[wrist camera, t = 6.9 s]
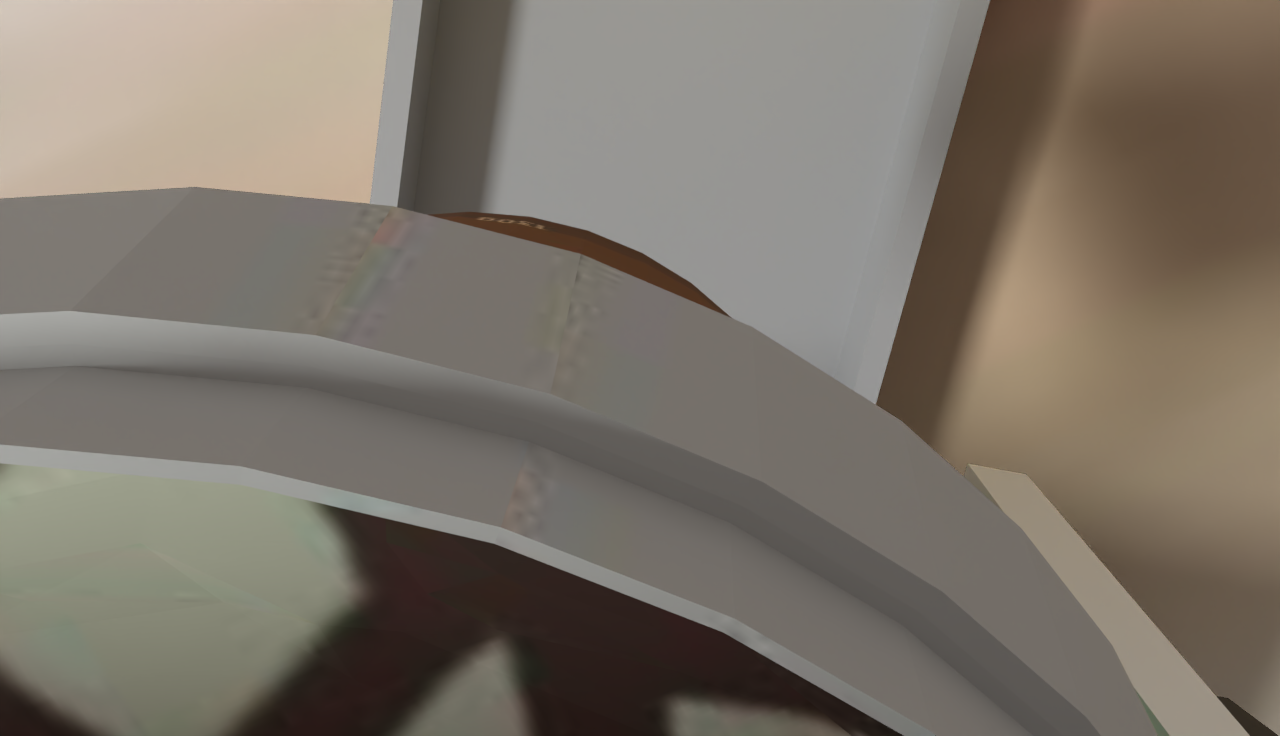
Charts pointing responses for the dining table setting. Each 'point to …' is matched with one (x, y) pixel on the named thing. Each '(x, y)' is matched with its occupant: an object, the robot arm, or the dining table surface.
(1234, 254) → the dining table surface
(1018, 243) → the dining table surface
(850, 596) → the food container
